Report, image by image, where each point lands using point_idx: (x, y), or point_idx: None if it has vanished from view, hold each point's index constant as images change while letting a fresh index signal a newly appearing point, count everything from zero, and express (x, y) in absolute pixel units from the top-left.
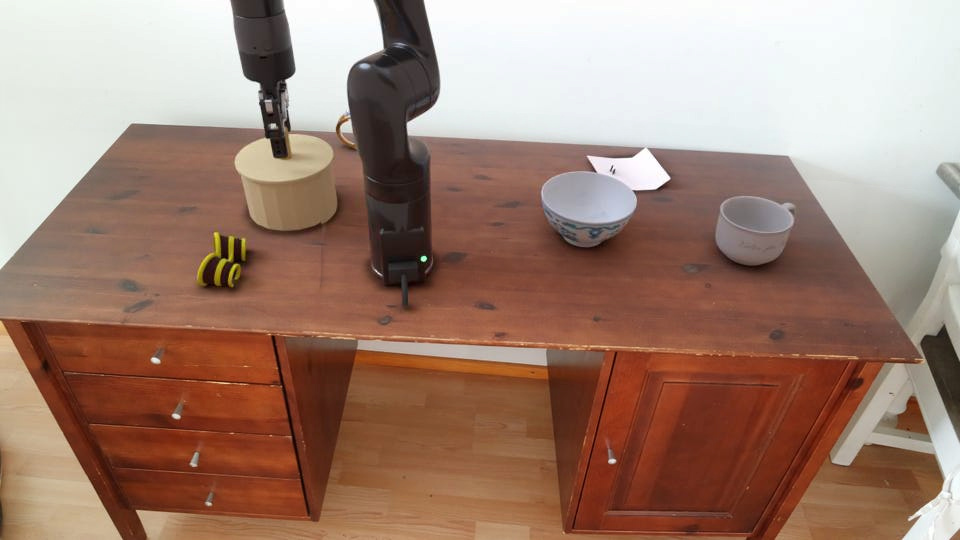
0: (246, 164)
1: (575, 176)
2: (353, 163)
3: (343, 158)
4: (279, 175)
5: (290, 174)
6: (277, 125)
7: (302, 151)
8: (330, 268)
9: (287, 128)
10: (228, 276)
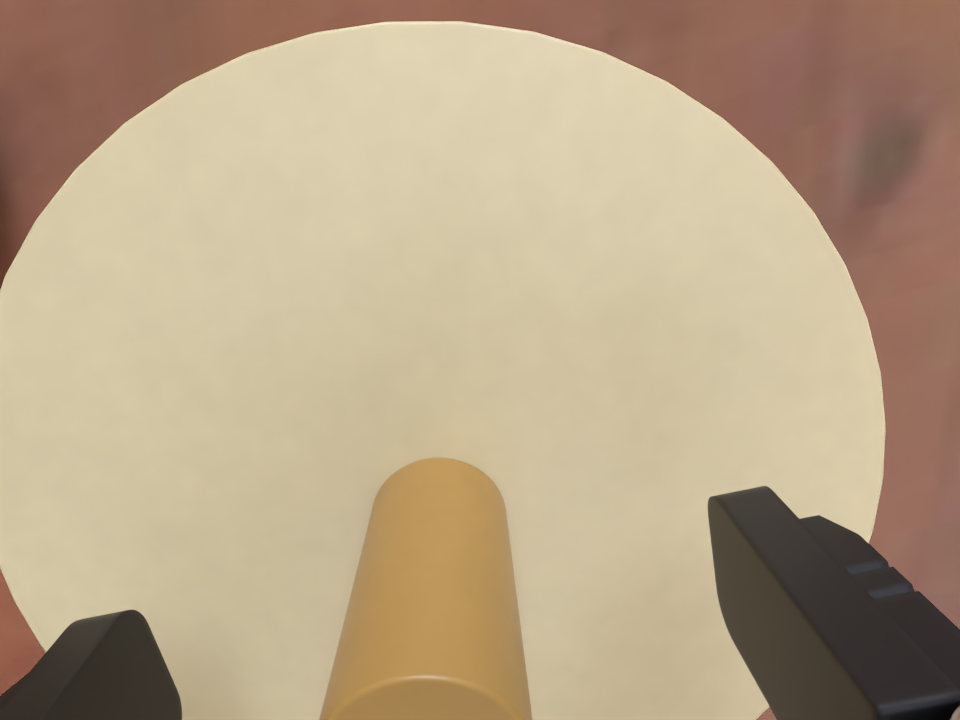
0: (221, 206)
1: None
2: (894, 538)
3: (954, 482)
4: (100, 560)
5: None
6: (748, 553)
7: (542, 630)
8: (16, 608)
9: (736, 622)
10: None
